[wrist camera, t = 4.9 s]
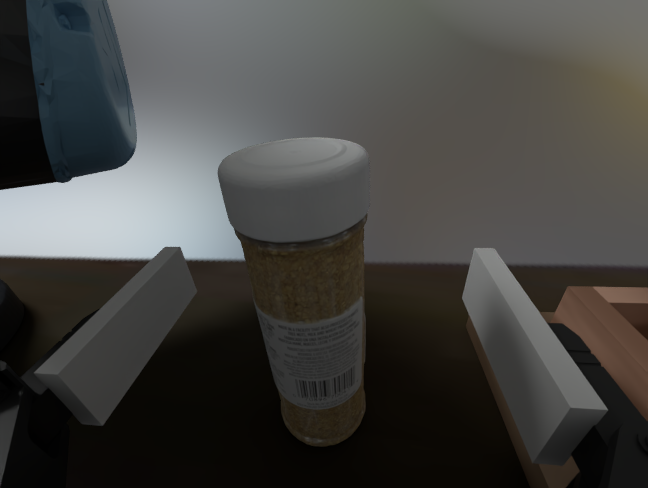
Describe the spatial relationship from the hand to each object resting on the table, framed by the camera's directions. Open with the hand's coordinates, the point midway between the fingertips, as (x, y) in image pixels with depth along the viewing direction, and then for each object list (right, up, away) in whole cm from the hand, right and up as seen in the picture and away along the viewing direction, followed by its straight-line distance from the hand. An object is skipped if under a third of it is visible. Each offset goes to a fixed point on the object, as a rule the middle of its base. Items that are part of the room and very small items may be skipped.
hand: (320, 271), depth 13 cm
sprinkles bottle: (0, -8, +2) cm, 8 cm away
